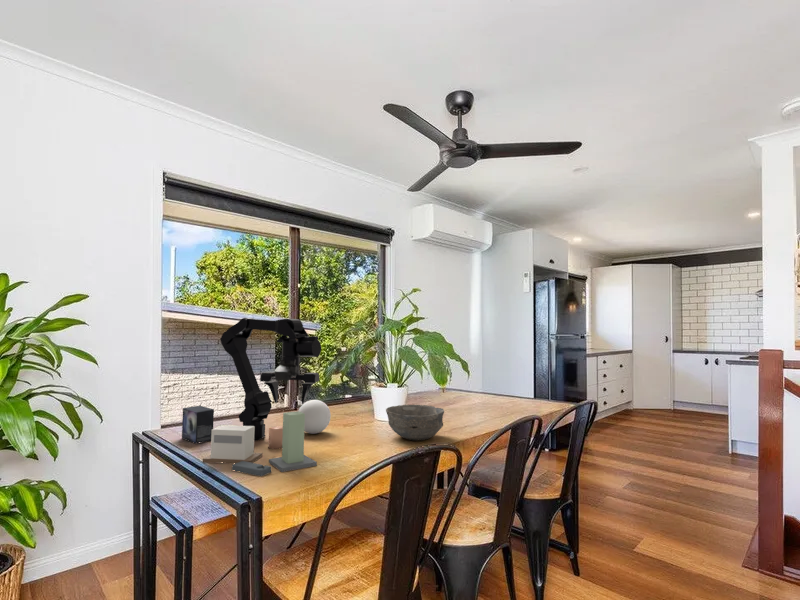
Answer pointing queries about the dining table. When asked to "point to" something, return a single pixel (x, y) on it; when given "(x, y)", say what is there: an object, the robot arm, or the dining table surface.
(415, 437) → the bowl
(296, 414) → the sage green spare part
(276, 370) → the robot arm
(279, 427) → the peach rounded cylinder
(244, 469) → the bracket
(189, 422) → the small box
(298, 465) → the slate grey pad
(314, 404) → the decorative ball
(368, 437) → the dining table surface
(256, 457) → the mounted unit
